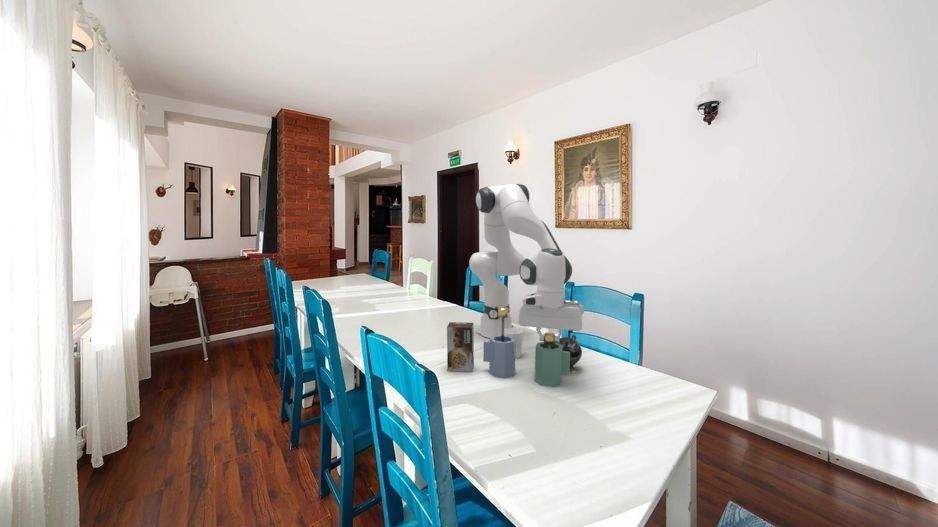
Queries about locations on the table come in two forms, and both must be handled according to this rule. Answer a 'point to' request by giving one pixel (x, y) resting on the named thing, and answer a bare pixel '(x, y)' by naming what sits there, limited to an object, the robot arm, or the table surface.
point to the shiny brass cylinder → (549, 339)
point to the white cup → (519, 339)
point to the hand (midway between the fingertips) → (549, 341)
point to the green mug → (551, 364)
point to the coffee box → (460, 346)
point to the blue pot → (500, 356)
